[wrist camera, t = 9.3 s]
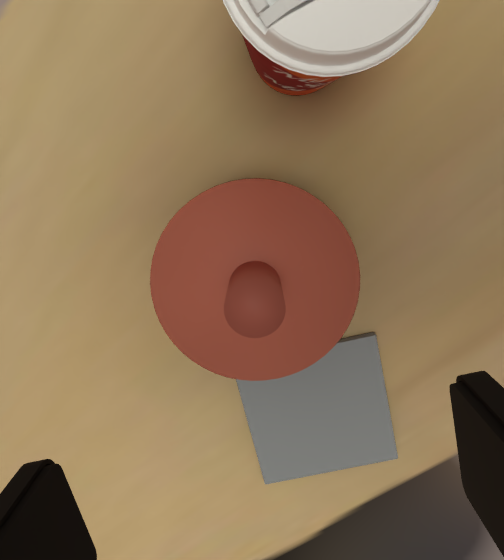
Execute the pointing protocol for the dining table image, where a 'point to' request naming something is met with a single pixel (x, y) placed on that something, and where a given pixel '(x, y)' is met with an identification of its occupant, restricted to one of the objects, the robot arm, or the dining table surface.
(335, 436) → the mat
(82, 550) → the robot arm
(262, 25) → the coffee cup
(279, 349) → the lid
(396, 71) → the dining table surface
